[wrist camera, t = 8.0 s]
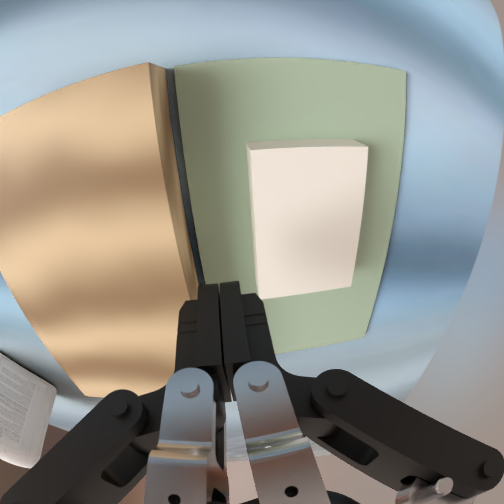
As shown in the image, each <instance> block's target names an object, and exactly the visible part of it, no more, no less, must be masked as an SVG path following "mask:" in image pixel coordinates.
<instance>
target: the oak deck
mask: <svg viewBox="0 0 504 504" xmlns="http://www.w3.org/2000/svg"><path fill="white" fill-rule="evenodd" d="M0 271H1V273H2V275H3V277H4V279H5V281H6V283H7V285H8V287H9V289H10V290H11V292H12V294H13V296H14V298H15V299H16V301H17V303H18V304H19V306H20V308H21V310H22V311H23V313H24V314H25V316H26V318H27V319H28V321H29V322H30V324H31V326H32V327H33V329H34V330H35V332H36V333H37V335H38V336H39V337H40V339H41V340H42V342H43V343H44V345H45V346H46V347H47V349H48V350H49V352H50V353H51V354H52V356H53V357H54V358H55V360H56V361H57V362H58V364H59V365H60V366H61V367H62V369H63V370H64V371H65V372H66V374H67V375H68V376H69V377H70V379H71V380H72V381H73V382H74V383H75V384H76V386H77V387H78V388H79V389H80V390H81V391H82V393H83V394H84V395H85V396H90V397H104V398H105V397H106V396H107V395H108V394H109V393H111V392H113V391H115V390H119V389H126V390H130V391H132V392H134V393H136V394H137V395H138V396H140V395H144V394H147V393H150V392H153V391H156V390H158V389H160V388H162V387H163V386H165V385H166V384H167V382H168V380H169V378H170V377H171V376H172V375H173V374H174V370H175V356H176V342H177V334H178V333H177V329H178V317H179V310H180V309H181V307H182V306H183V304H184V302H185V301H186V300H196V299H197V296H198V285H199V282H198V278H197V273H196V268H195V263H194V258H193V253H192V248H191V243H190V238H189V232H188V227H187V221H186V216H185V210H184V204H183V198H182V193H181V186H180V180H179V174H178V167H177V160H176V154H175V147H174V139H173V132H172V124H171V116H170V107H169V98H168V89H167V79H166V69H165V68H163V67H160V66H157V65H154V64H151V63H149V62H148V63H143V64H139V65H135V66H131V67H127V68H123V69H119V70H115V71H112V72H108V73H105V74H101V75H98V76H95V77H92V78H89V79H86V80H83V81H80V82H77V83H74V84H71V85H69V86H66V87H63V88H61V89H58V90H56V91H53V92H51V93H48V94H46V95H44V96H41V97H39V98H37V99H35V100H32V101H30V102H28V103H26V104H24V105H22V106H20V107H18V108H16V109H14V110H12V111H10V112H8V113H6V114H4V115H2V116H0Z"/></svg>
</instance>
